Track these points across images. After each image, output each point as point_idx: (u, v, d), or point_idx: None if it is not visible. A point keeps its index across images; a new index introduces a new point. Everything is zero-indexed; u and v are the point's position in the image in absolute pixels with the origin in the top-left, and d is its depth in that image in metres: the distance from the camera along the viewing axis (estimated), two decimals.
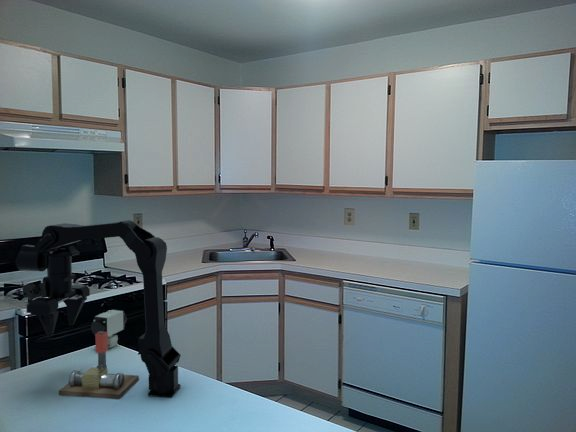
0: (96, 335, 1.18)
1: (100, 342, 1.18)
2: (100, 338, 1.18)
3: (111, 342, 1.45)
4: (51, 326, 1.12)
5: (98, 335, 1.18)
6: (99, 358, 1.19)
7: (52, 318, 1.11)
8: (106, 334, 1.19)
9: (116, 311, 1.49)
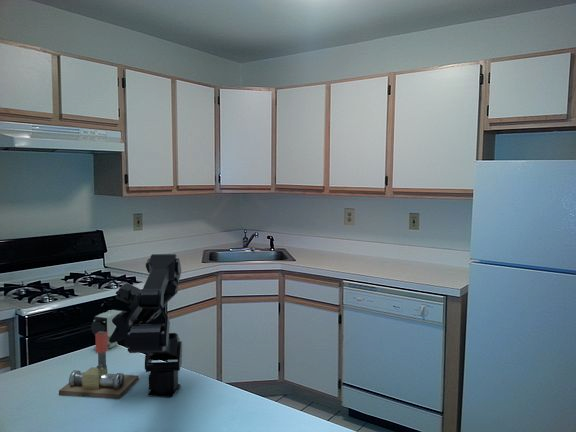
0: (96, 335, 1.18)
1: (100, 342, 1.18)
2: (100, 338, 1.18)
3: None
4: (119, 339, 1.13)
5: (98, 335, 1.18)
6: (99, 358, 1.19)
7: None
8: (106, 334, 1.19)
9: (116, 311, 1.49)
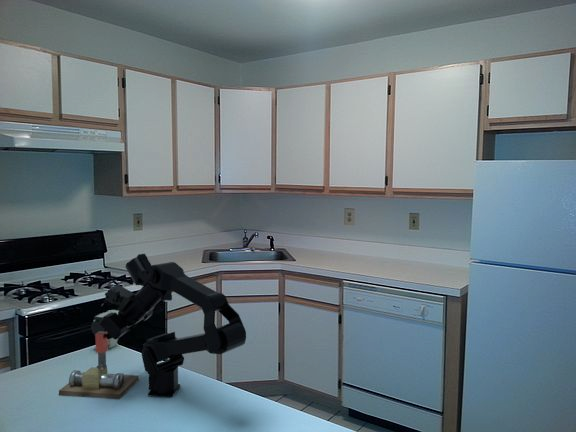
0: (96, 335, 1.18)
1: (100, 342, 1.18)
2: (100, 338, 1.18)
3: (111, 342, 1.45)
4: None
5: (98, 335, 1.18)
6: (99, 358, 1.19)
7: None
8: (106, 334, 1.19)
9: (116, 311, 1.49)
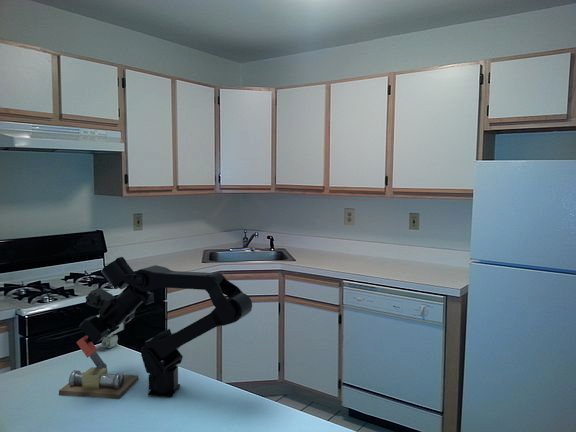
0: (77, 342, 1.19)
1: (84, 346, 1.19)
2: (82, 342, 1.19)
3: (111, 342, 1.45)
4: None
5: (79, 341, 1.19)
6: (94, 360, 1.19)
7: None
8: (87, 337, 1.20)
9: None
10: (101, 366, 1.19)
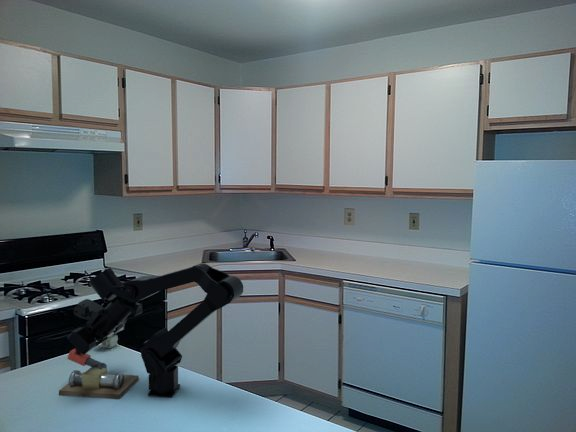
0: (68, 358, 1.19)
1: (76, 357, 1.19)
2: (72, 355, 1.19)
3: (111, 342, 1.45)
4: None
5: (69, 356, 1.19)
6: (91, 365, 1.19)
7: None
8: None
9: None
10: (99, 366, 1.19)
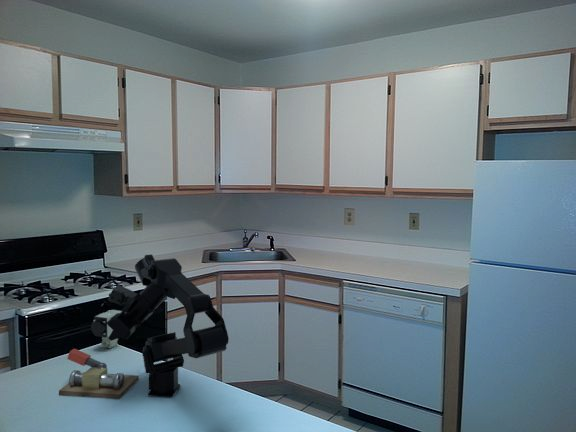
0: (68, 358, 1.19)
1: (76, 357, 1.19)
2: (72, 355, 1.19)
3: (111, 342, 1.45)
4: (119, 336, 1.16)
5: (69, 356, 1.19)
6: (91, 365, 1.19)
7: None
8: (75, 350, 1.21)
9: (116, 311, 1.49)
10: (99, 366, 1.19)
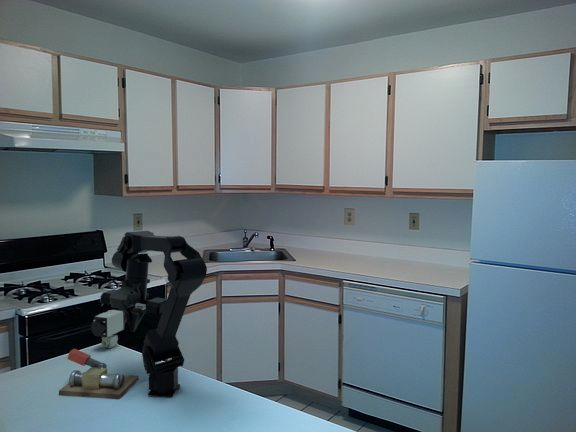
0: (68, 358, 1.19)
1: (76, 357, 1.19)
2: (72, 355, 1.19)
3: (111, 342, 1.45)
4: (140, 320, 1.25)
5: (69, 356, 1.19)
6: (91, 365, 1.19)
7: (144, 312, 1.26)
8: (75, 350, 1.21)
9: (116, 311, 1.49)
10: (99, 366, 1.19)
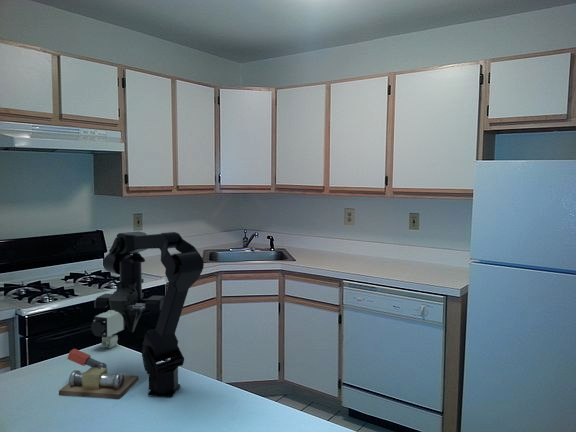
0: (68, 358, 1.19)
1: (76, 357, 1.19)
2: (72, 355, 1.19)
3: (111, 342, 1.45)
4: (137, 320, 1.26)
5: (69, 356, 1.19)
6: (91, 365, 1.19)
7: (141, 311, 1.27)
8: (75, 350, 1.21)
9: None
10: (99, 366, 1.19)
